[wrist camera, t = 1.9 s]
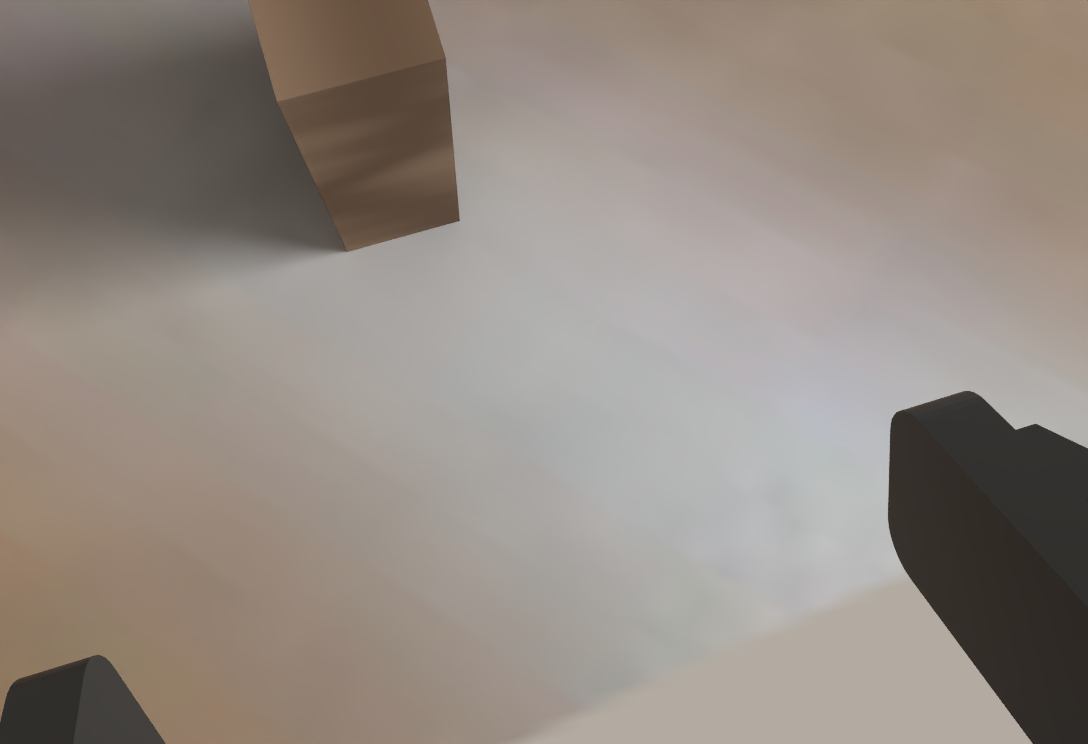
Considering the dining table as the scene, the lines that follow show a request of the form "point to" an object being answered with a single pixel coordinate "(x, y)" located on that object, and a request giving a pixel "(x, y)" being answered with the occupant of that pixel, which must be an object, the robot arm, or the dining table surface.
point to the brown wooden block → (365, 110)
